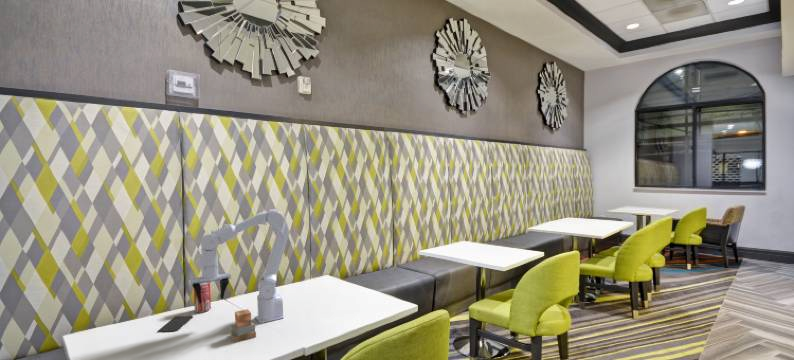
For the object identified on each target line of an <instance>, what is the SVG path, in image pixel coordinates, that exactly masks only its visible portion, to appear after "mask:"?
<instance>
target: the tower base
mask: <svg viewBox="0 0 794 360" xmlns="http://www.w3.org/2000/svg"><path fill="white" fill-rule="evenodd" d="M230 336H231V338H232V339H233V341H234V343H238V342H242V341H246V340H249V339H250V340H251V339H255V338H257V332H256V330H255V331H254V332H251V333H247V334H244V335H241V336H238V335H236V334H235V333H234V332H233V331H232V329H231V331H230Z"/></svg>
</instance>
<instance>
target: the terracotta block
mask: <svg viewBox="0 0 794 360" xmlns="http://www.w3.org/2000/svg"><path fill="white" fill-rule="evenodd" d="M251 322H252V312H251V311H250V310H249V309H248V308H247V309H242V310H237V311H236V310H235V311H234V324H236V326H237V327H238V328H241V327H245V326H249V325H251Z"/></svg>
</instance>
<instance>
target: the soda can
mask: <svg viewBox="0 0 794 360" xmlns="http://www.w3.org/2000/svg"><path fill="white" fill-rule="evenodd" d="M200 286H201V303H199V301H198V297H197V294H196V292H195V290H194V289H193V299H194V300H193V301H194V303H193V304H194V311H195V312H196V313H198V314H199V313H206V312H209V311H210V309H212V307H211V305H212V304H211V302H212V301H211V285H210V282H207V283H201V284H200Z"/></svg>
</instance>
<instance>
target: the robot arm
mask: <svg viewBox="0 0 794 360" xmlns="http://www.w3.org/2000/svg"><path fill="white" fill-rule="evenodd" d="M267 223H268V225H269V226H271V228H273V230H274V232H275V233H276V235H275V238H274V241H273V244H272V248H271V251H270V255H269V257H268V261H267V263H266V267H265V270H264V272H263V274H262V277H261V278H260V279H259V281H258V282H257V289H258V293H259V294H258V295H257V297H256V298H257V315H255V316H254V318H255V319H256V321H257V322H258V323H259V324H263V323H268V322H272V321H276V320H280V319H284V317H285V316H284V302H283V296H282V294H280V293H276V292H277V288H276V285H277V275H278V272H279V268H280V267H281V266H280V265H281V263H282V259H283V256H284V253H285V249H286V246H287V242H288V240H289V236H290V229H289V226H288V223H287V218H286V216H285V215H284V213H282V211H279V210H278V209H276V208H270V209H268V210H264V211H261V212H259V213H256V214H255V215H252V216H250V217H248V218H246V219H244V220H242V221H240V222H239V223H237V224H231V223H229V224H227V223H225V224H223V227H219V228H217V229H216V230H211V231H210V233H205V234H203V236H202V237H201V240H200V247H201V250H200V251H201V255H200V257H201V276H198V277H195V278H190V279H188V286H189V287H190V286H192V288H193V291H194V290H195V292H196V294H197V297H198V301H199V303H201V286H200V284H201V283H207V282H209V283H212V282H217V281H219V288H220V289H219V291H220V292H219V293H220V294H219V295H220V297H219V298H220V299H221V300H224V297H225V293H226V290H227V287H228V285H229V282H230V281H229V280H231V279H232V273H230V272H228V273H227V272H226V273H219V254H218V249H217V248H218V245H223V244H225V243H228V242H229V241H231V240H233V239H235V238H237V237H238V234H239V233H241V232H243V231H246V230H248V229H250V228H252V227H255V226H258V225H264V226H265V225H267Z"/></svg>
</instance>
